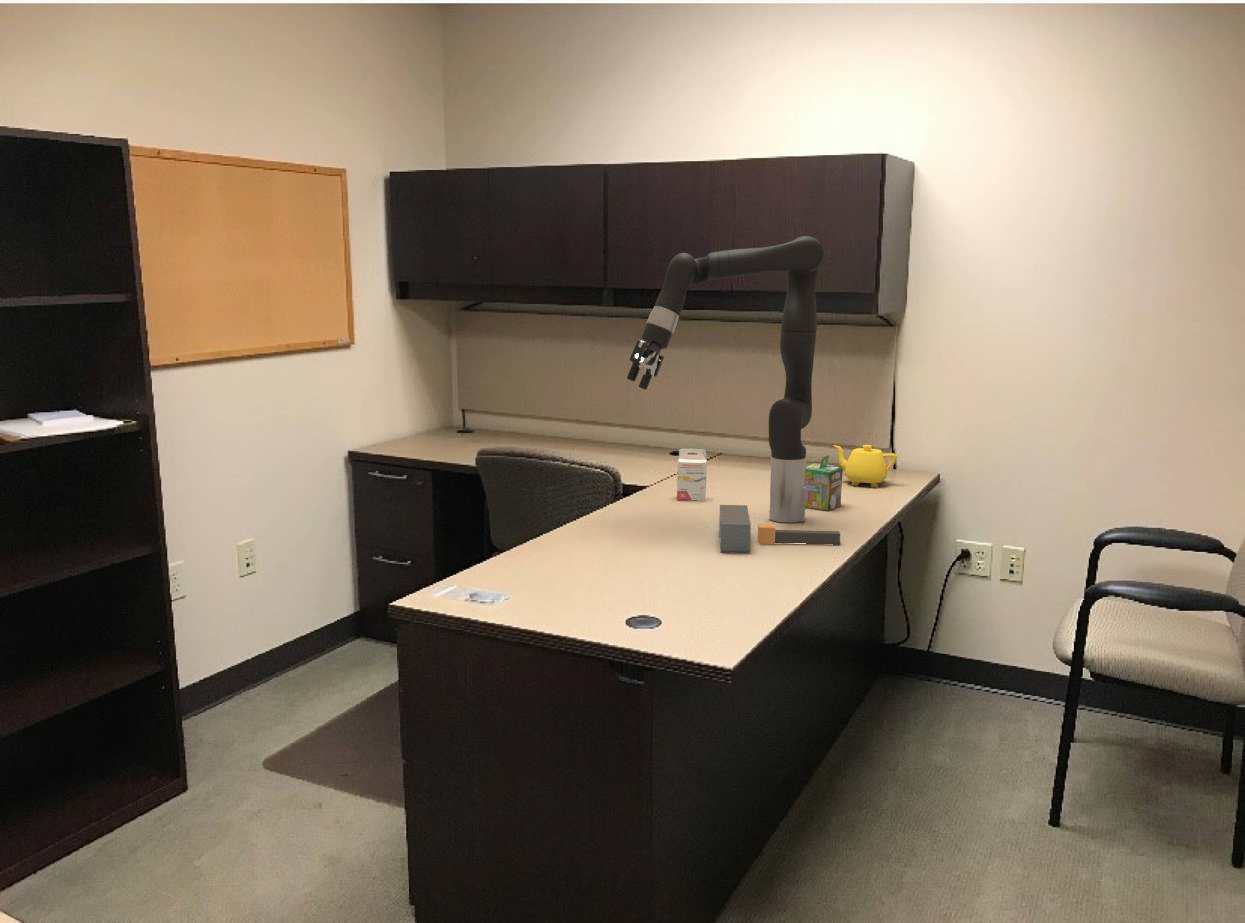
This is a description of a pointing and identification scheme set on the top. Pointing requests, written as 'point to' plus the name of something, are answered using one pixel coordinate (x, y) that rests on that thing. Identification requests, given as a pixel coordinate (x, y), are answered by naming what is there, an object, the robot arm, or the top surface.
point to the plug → (795, 536)
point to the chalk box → (823, 485)
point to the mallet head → (734, 528)
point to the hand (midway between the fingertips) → (636, 384)
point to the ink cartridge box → (691, 475)
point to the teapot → (866, 465)
